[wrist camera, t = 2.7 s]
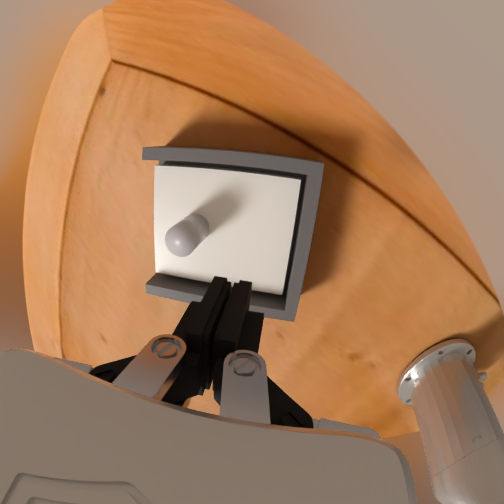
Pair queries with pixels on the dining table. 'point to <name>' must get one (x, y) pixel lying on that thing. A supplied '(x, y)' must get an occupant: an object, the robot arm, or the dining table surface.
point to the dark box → (302, 232)
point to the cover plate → (224, 224)
